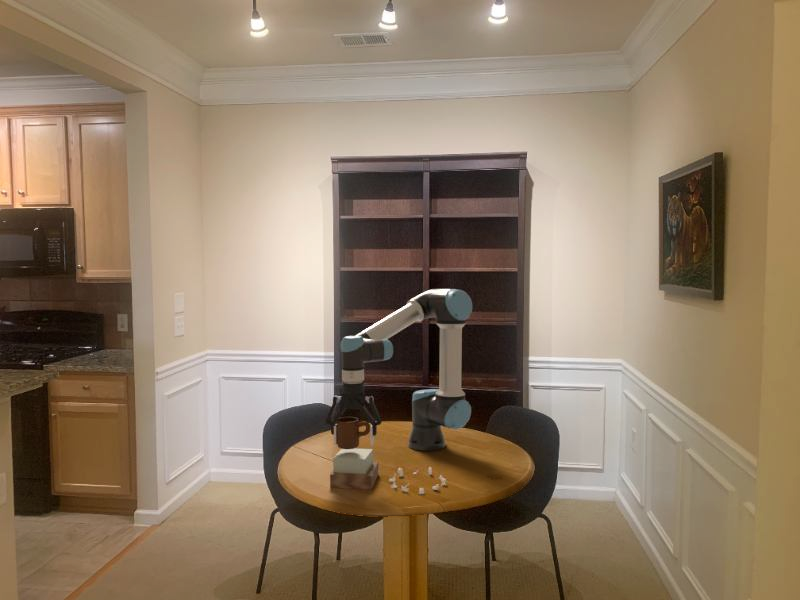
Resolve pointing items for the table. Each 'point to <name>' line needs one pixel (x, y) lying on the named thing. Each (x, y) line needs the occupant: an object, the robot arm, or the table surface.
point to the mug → (350, 432)
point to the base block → (355, 479)
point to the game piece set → (422, 491)
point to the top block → (353, 461)
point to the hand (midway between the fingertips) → (354, 444)
